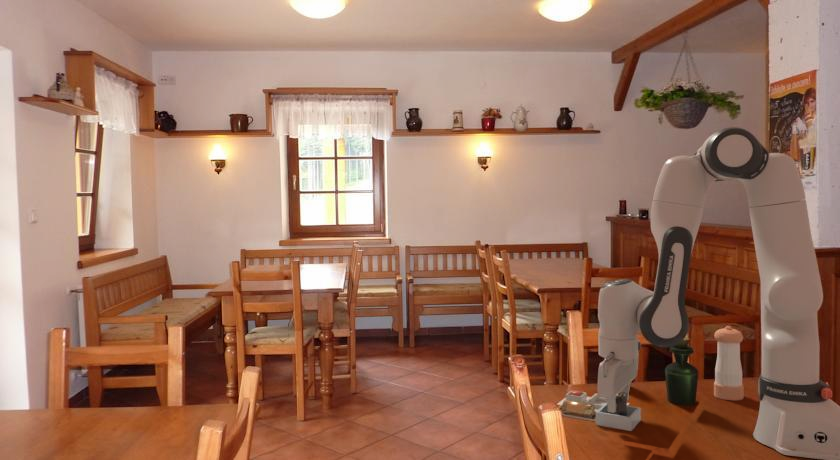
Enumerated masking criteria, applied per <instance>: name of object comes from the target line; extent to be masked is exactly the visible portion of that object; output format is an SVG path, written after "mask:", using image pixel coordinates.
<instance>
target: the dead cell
mask: <svg viewBox="0 0 840 460" xmlns="http://www.w3.org/2000/svg"><path fill="white" fill-rule="evenodd" d="M615 399H616V404H617V411H616V412H615V413H611V412H610V414H615V415H621V416H627V403H628V402H627V401H628V400H627V397H626V396H624V395H621V394H620V393H618V394H617V395H616V398H615Z"/></svg>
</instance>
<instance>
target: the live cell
mask: <svg viewBox="0 0 840 460" xmlns="http://www.w3.org/2000/svg"><path fill="white" fill-rule="evenodd" d="M561 413H562V414H567V415H573V416H579V417H584V418H590V419H592V417H594V415H596V413H595V407H594V405H593V404H588V403H582V402H576V401H570V400H564V402H563V404H562V408H561Z"/></svg>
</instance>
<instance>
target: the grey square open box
mask: <svg viewBox="0 0 840 460" xmlns="http://www.w3.org/2000/svg"><path fill="white" fill-rule="evenodd" d="M641 413H642V408H641V407H640V406H639V407H638V406H633V405H628V406H627V416H621V415H615V414H610V412H608V404H607V402H606V403H605V404H604V405H603V406H602V407H601V408H600V409H599V410H598V411H596V413H595V417H596V421H595V425H596V426H601V427H606V428H612V429H617V430H623V431H628V432H629V431H630V432H632V431H633V430H634V429H635V428H636V426H637V425H638V424H639V423H640V422H641V421H642V419H641V418H642V417H641V415H642V414H641Z"/></svg>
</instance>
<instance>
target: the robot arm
mask: <svg viewBox="0 0 840 460" xmlns="http://www.w3.org/2000/svg"><path fill="white" fill-rule="evenodd" d="M735 179H736V180H737V181H739V182H740V183H741V184H742V185H743V187H744V189H745V192H746V195H747V203H748V204H747V205H748V212H749V218H750V224H751V231H752V237H753V243H754V249H755V256H756V261H757V267H758V274H759V280H760V324H761V325H760V328H761V329H760V330H761V332H760V335H761V364H760V365H761V368H760V369H761V373H760V374H759V376H758V377H759V378H758V399H759V400H760V401H759V410H758V416H757V421H756V424H755V428H754V431H753V433H752V436H753V438H754V440H755V441H758V442H759V443H761V444H762V445H765V446H767V447H770V448H771V449H773V450H776V451H777V452H778V453H780V454H782V455H783V456H784V455H785V456H788V457H789V456H792V457H800V458H808V459H815V460H816V459H817V460H840V405H838V404H837V403H836V402H835V401H833V400H832V399H831V398H832V397H833V391H832V389H831V386H830V385H829V382H827V381H826V382H824V381H823V380H821V379H820V337H819V323H818V311H819V310H820V308H821V307H822V305H823V302H824V292H823V291H824V290H823V286H822V281H821V274H820V270H819V265H818V260H817V255H816V250H815V246H814V241H813V237H812V233H811V232H812V231H811V226H810V217H809V211H808V206H807V200H806V199H807V198H806V192H805V188H804V184H803V181H802V178H801V174H800V171H799V169H798V166H797V164H796V161H795V160H794V159H793V158H792V156H790V155H788V154H786V153H781V152H769V151H768V150H767V149H766V147H764V145H763V144H762V143H761V142H760V140H758V138H757V137H756V136H755V135H754V134H753V133H752V132H750V131H749V130H748V129H745V128H741V127H735V126H729V127H725V128H722V129H720V130H718V131H716V132H714V133H712V134H711V135H709V137H707V138H706V140H705V141H704V142H703V144H702V145H700V147H699V149H697V151H696V152H695V153H694V154H693V155H677V156H673V157H670V158H669V159H667V160H665V162H664V164H663V166H662V167H661V170H660V173H659V176H658V179H657V181H656V185H655V188H654V193H653V198H652V203H651V207H650V208H651V209H650V230H651V231H650V232H651V234H652V237H654V238H653V239H654V241H655V243H656V247H657V252H658V261H657V262H658V265H657V271H656V274H655V275H656V276H655V283H654V289H653V291H652V290H650V289H647V288H645V287H644V286H641V285H639V284H638V283H636V282H635V281H633V280H632V279H629V278H622V279H621V278H619V279H615V280H610V281H607V282H606V283H604V284H603V285H602V286H601V287H600V290H599V291H598V292H599V293H598V301H597V304H598V306H597V318H598V322H599V329H598V334H597V336H598V337H597V340H598V345H597V346H598V356H599V357H602V358H603V361H601V362H600V363H599V366H598V373H597V393H598V397H603V398H605V399H606V402H607V404H608V412H611V413H615V412H616V411H617V404H616V399H615V398H616V395H617V394H621V395H624V396H626V397H627V401H628V400H629V398H630V397H629V396H630V395H629V393H630V390H631V389H630V388H631V383H632V381H634V379H636V378H637V375H638V370H639V351H641V347H642V344H641V343H642V342H641V341H640V340H639V339H638V334H641V335H642V336H643V339H645V340H646V341H647V342H648V343H650V344H651V345H653V346H655V347H659V348H670V347H671V346H674V345H676V344H678V343H680V342H681V341H682V340H683V339H684V338H685V337H686V336H687V335H688V333H689V328H690V321H689V315H688V313H687V308H686V303H685V302H686V300H685V299H686V291H687V284H688V277H689V271H690V264H691V263H690V262H691V258H692V254H693V249H694V245H695V241H696V239H697V235H698V232H699V229H700V226H701V222H702V217H703V213H704V208H705V202H706V197H707V193H708V190H709V188H710V187H711V185H712V184H713V183H714V182H724V181H731V180H735Z"/></svg>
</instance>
